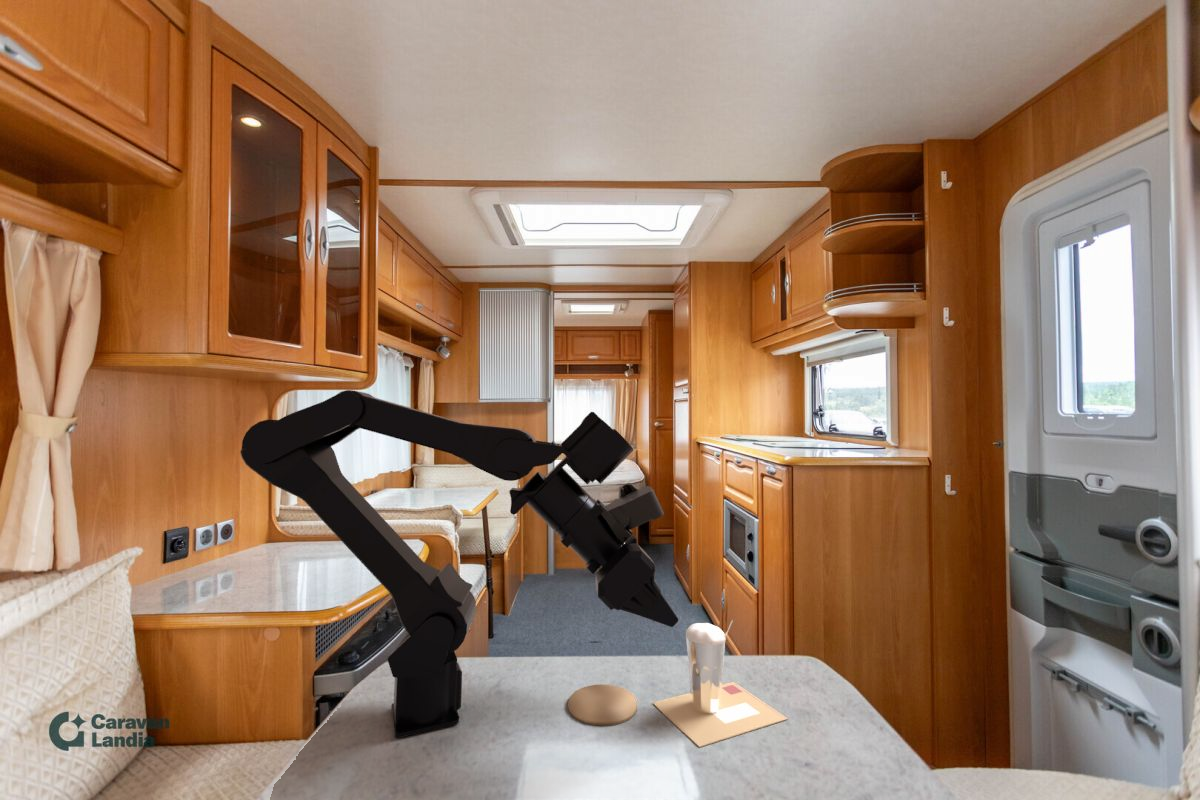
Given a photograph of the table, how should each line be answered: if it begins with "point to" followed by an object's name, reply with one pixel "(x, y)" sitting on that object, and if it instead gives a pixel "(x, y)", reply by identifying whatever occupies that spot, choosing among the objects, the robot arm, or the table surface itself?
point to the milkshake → (705, 665)
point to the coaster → (602, 705)
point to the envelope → (720, 715)
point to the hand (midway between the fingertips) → (666, 608)
